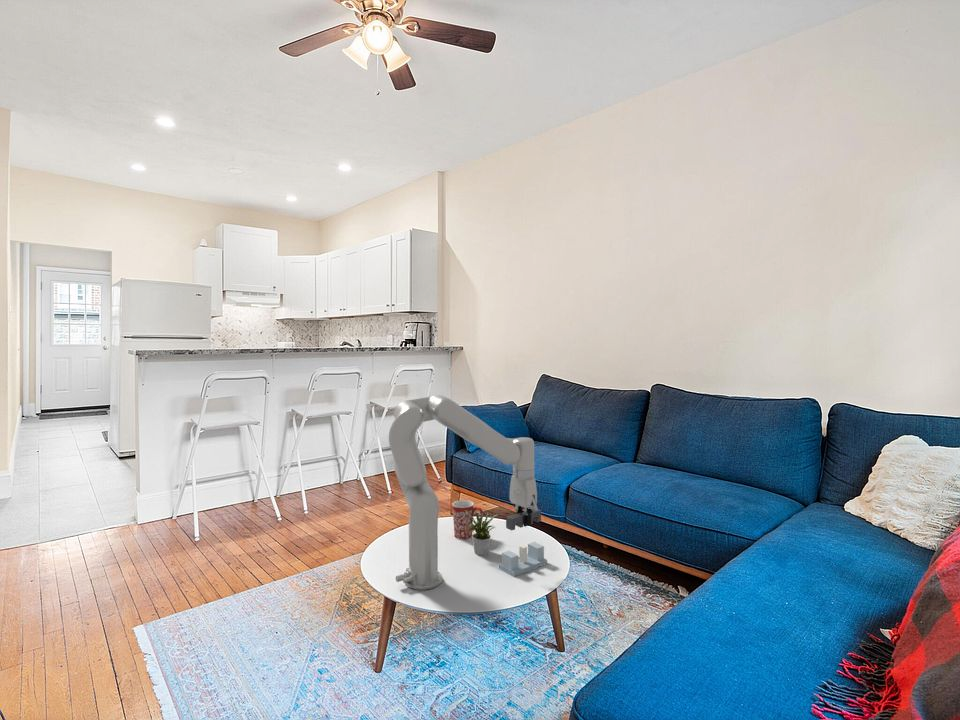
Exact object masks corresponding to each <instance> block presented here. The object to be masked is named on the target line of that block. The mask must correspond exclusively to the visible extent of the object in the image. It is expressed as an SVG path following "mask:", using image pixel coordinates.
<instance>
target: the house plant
mask: <svg viewBox="0 0 960 720" xmlns="http://www.w3.org/2000/svg"><path fill="white" fill-rule="evenodd" d="M464 511H465V510H464ZM467 512H468V511H467ZM468 513H469V514H470V515H471V517H472V519H473V520H472V519H471V518H470V519H471V520H472V521H473V523H472V522H471V521H470V520H469V521H470V522H471V523H472V524H469V526H471V527H473V528H474V530H470V531H469V533H471V532H472V536H471V538H472V545H473V552H474V554H475V555H476V556H477V555H478V556H485V555H487V554H489V549H490V542H491V534H490V531H491V530H493V529H496V526H494V525H489V524H490V523H491V521H492V520H493V519H494V518H495V517H496V516H498V515H499V513H497V514H495V515H493V516H492V517H490V519H489V520H488V518H489V512H487V514H486V515H484V514H483V513H484V512H483V513H482V514H483V516H482V517H481V521H480V516H479V514H478V513H477V510H476V511H474V514H475V516H476V520H477V521H476V520H475V518H474V515H473V516H472V514H471V513H470V512H468ZM484 516H485V520H484V521H483V518H484ZM464 518H468V517H464ZM475 525H476V526H475ZM477 525H478V526H477ZM465 529H468V528H465ZM474 531H475V532H474Z"/></svg>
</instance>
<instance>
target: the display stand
mask: <svg viewBox="0 0 960 720" xmlns="http://www.w3.org/2000/svg"><path fill="white" fill-rule="evenodd" d="M518 549H519V551H518V552H519V555H518V554H517V553H515V552H512V551H511V550H506V551H502V552H501V562H500V563H498V569H499V570H501V571H503V572H504V573H506V574H508V575H509V576H511V577H516V576H520V575H522V574H524V573H527V572H530V571H532V570H535V569H537V567H538V568H540V567H542V566H541V565H543V566H545V565H547V564H548V559H547V558H545V554H544V553H545V546H544V545H542V544H540V543H537V542H536V541H532V542H530V543H527V546H526V545H524V544H523V545H519V548H518ZM546 563H547V564H546ZM544 564H545V565H544ZM539 566H540V567H539ZM534 568H535V569H534Z"/></svg>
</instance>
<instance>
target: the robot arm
mask: <svg viewBox="0 0 960 720" xmlns="http://www.w3.org/2000/svg"><path fill="white" fill-rule="evenodd" d="M393 414H394V420H393V422H392V423H391V425H390V428H389V432H388V443H389V447H390V450H391V454H392V456H393V460H394V467H393V468H394V473H395V475H396V479H397V481H398V483H399V486H400V490H401V491H402V494H403V497H404V499H405V501H406V504H407V505H408V509H409V519H408V520H409V521H408V568H406V569H405V572H404V573H403V574H398V575H396V576H395V581H396V583H399V582H403V584H405V586H407V587H408V588H410V589H412V588H413V590H419V591H420V590H421V591H424V590H425V591H426V590H430V589H434V588H436V587H438V586H439V585H440V584H441V583H442V582H443V574H441V572H440V571H438V570H439V569H438V568H439V567H438V563H439V562H438V561H439V559H438V558H439V557H438V552H439V550H438V547H439V545H438V537H439V536H438V531H439V530H438V526H439V511H440V502H439V499H438V496H437V493H436V492H435V491H434V490H433V488H432V487H431V485H430V483H429V479H428V477H427V468H426V464H425V462H424V460H423V458H422V455H421V453H420V450H419V447H418V444H417V439H416V434H417V432H418V430H419V429H420V427H421V426H422V424H423V423H424V422H430V421H433V420H434V421H437V422H438V423H439V424H441V425H442V426H444V427H445V428H447V429H449V430H450V431H452V432H453V433H455V435H458V436H459V437H461V438H463V439H464V440H466V442H468V443H470V444H472V445H473V446H476V447H478V448H480V449H481V450H483V451H484V452H486V453H488V454H489V455H491V456H492V457H493V458H495V459H497V460H498V461H500V462H501V463H502V464H504V465H507V466H508V465H512V474H511V478H510V485H509V501H510V502H511V504H513V506H514V509H515V512H516V513H515V514H517V513H521V512H525V515H524V521H523V527H525V528H526V527H529V526H531V525H532V524H531V514H533V512H534V511H536V510H538V509H539V508H538V505H537V504H538V490H537V483H536V478H535V441H534V440H533V438H532V437H527V436H526V437H523V436H522V437H516V438H514V437H513V438H511V437H510V438H509V437H505V436H504V435H503V434H501V433H500V432H498V431H497V430H495V429H494V428H492V427H491V426H490V425H488V424H487V423H486V422H485V421H483V420H481V419H480V417H478V416H476V415H474V414H473V413H471V412H470V411H468V410H467V409H465V408H464V407H463V406H461V405H460V404H458V403H457V402H455V401H454V400H452V399H451V398H449V397H446V396H444V395H440V394H439V395H437V394H436V395H431V396H425V397H420V398H414V399H407V400H404V401H401V402H400V403H398V404H397V405H396V406H395V408H394V411H393Z"/></svg>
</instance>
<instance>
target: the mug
mask: <svg viewBox="0 0 960 720" xmlns="http://www.w3.org/2000/svg"><path fill="white" fill-rule="evenodd" d="M451 507H452V517H453V532H454V533H453V534H454V537H455V538H456V539H458V538H459V540H467V538H468V539H470V538H472V535H473V532H471V533H469V531H470V530H474V528H473V527H471V526H469V524H472V523H473V524H474V522H473V521H474V520H473V519H472V517H471V515H470V514H469V513H468V512H470V513H471V514H472V516H473V517H474V514H475V512H474V511H476V512H477V510H478V511H480V516H479V518H480V521H481V517H484V514H482V513H484V511H483V509H482V508H481V507H480V506H477V507H476V506H475V507H474V502H473V501H471V500H467V499H464V500H461V499H460V500H456V501H454V502H452V503H451ZM464 510H465V511H464ZM467 511H468V512H467ZM464 517H468V518H464ZM470 518H471V519H472V520H473V521H472V520H471V519H470ZM469 520H470V521H471V522H472V523H471V522H470V521H469ZM474 525H475V524H474ZM475 526H476V525H475ZM477 526H478V525H477ZM465 528H468V529H465ZM474 531H475V530H474Z"/></svg>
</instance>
